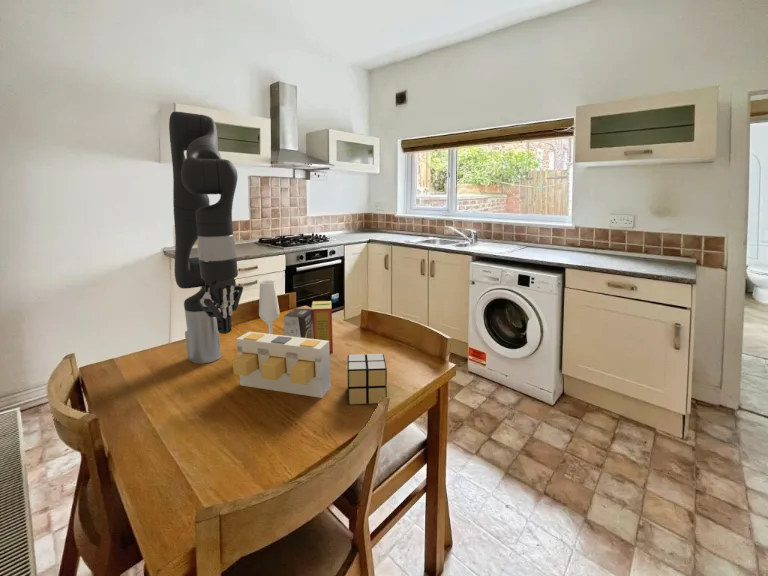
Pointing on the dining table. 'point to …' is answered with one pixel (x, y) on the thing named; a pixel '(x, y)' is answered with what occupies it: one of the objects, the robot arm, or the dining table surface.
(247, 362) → the button
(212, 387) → the dining table surface
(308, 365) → the button
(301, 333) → the coffee box
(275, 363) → the button
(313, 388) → the block
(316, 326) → the baking soda box
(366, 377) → the puzzle cube
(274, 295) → the champagne flute
